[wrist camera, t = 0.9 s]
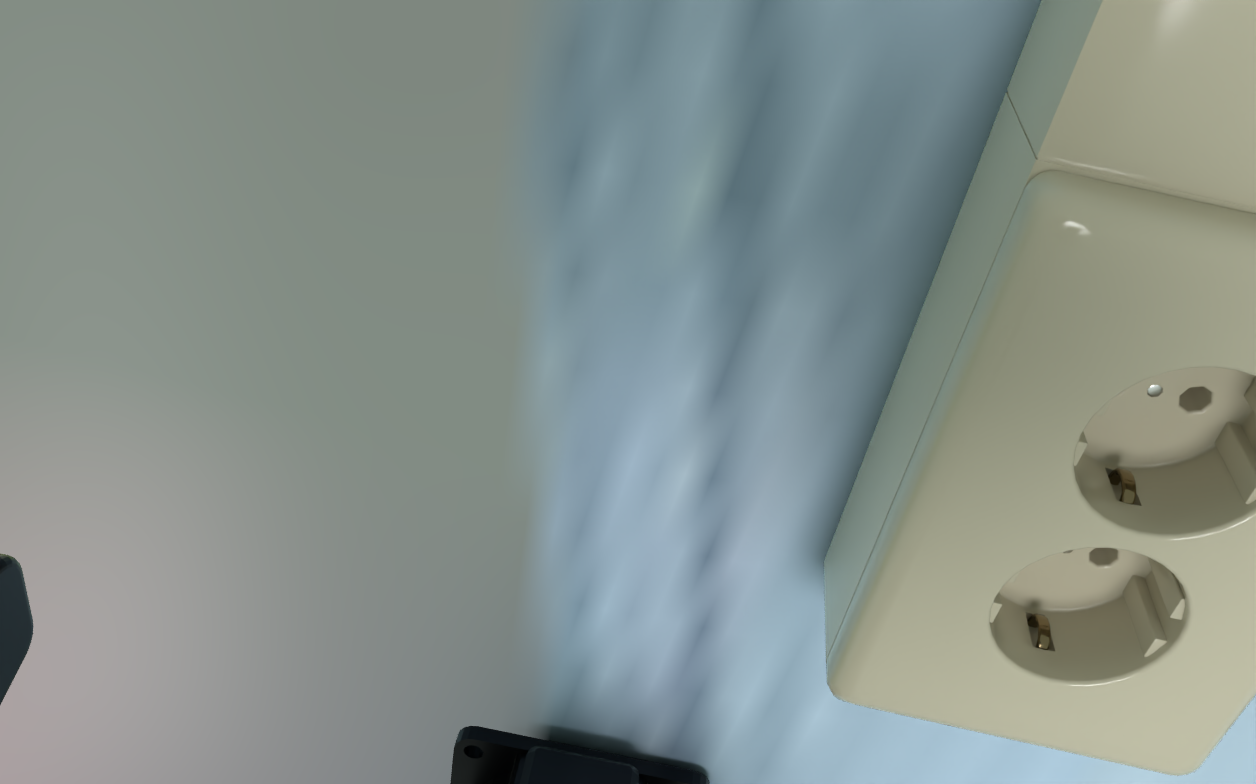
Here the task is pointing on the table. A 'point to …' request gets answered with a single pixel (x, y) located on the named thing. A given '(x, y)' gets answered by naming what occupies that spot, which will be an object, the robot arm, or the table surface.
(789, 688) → the table surface
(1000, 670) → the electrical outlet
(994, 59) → the table surface
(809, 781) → the table surface
